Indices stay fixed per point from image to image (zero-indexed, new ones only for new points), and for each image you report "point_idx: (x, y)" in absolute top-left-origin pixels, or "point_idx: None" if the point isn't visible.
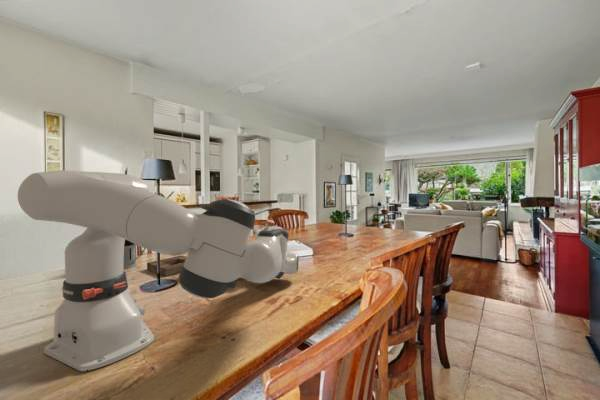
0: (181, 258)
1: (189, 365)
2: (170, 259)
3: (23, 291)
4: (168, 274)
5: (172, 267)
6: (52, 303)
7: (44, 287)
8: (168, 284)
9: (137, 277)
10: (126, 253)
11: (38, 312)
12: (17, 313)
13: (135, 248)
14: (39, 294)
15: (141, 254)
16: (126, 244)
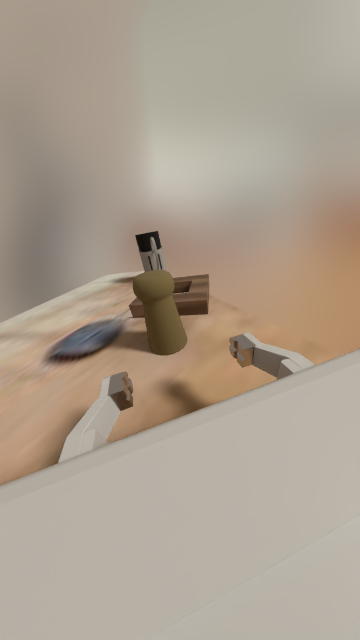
0: (194, 281)
1: None
2: (180, 280)
3: (77, 290)
4: (135, 314)
5: (141, 303)
6: (34, 316)
7: (86, 290)
8: (91, 345)
9: (123, 302)
10: (146, 262)
11: (7, 326)
12: (13, 319)
13: (161, 256)
14: (67, 298)
15: (157, 266)
16: (143, 250)
